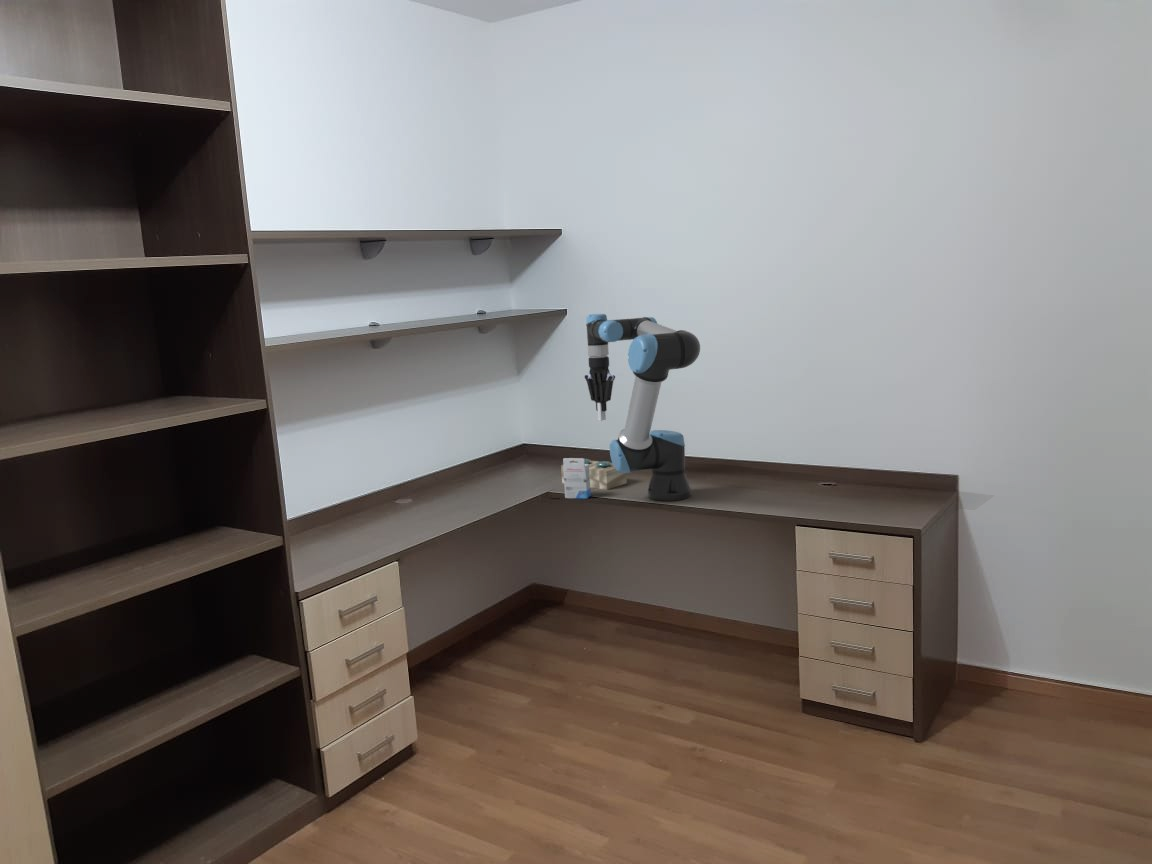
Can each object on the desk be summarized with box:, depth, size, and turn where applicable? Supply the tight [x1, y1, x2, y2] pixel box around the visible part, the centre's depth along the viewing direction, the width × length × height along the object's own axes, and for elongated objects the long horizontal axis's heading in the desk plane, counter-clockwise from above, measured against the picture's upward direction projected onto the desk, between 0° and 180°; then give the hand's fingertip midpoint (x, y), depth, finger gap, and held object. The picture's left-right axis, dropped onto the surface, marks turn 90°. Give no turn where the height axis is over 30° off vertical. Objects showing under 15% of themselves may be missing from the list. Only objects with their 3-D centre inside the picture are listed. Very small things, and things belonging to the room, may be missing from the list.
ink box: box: [562, 457, 592, 500], centre depth 325 cm, size 9×5×15 cm, turn 71°
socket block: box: [560, 460, 628, 491], centre depth 345 cm, size 22×12×7 cm, turn 49°
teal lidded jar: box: [576, 458, 591, 464], centre depth 348 cm, size 5×5×8 cm
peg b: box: [597, 460, 611, 468], centre depth 341 cm, size 5×5×8 cm
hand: (601, 419), depth 337 cm, fingers closed
